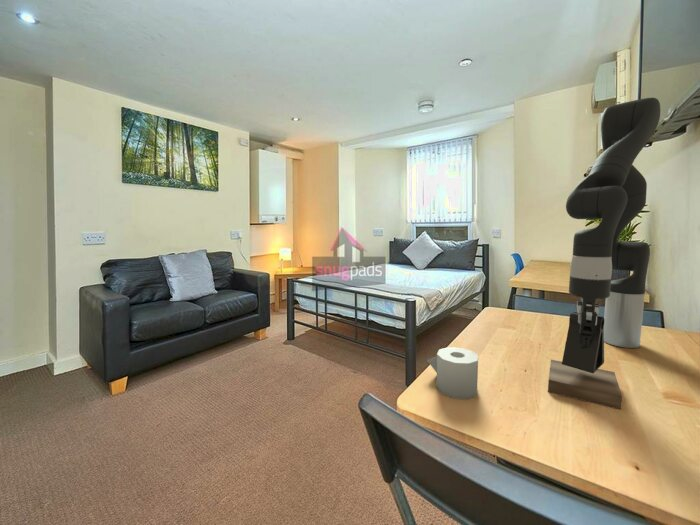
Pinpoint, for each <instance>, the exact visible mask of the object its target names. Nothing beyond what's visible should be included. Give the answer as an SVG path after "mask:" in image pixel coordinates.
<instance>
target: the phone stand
mask: <svg viewBox="0 0 700 525" xmlns="http://www.w3.org/2000/svg"><path fill="white" fill-rule="evenodd" d="M581 318H582V317H581ZM583 329H590V330H591V327H588V326H584V328H583ZM579 330H580V324H579V323H578V312H575V311H572V312H570V315H569V321H568V329H567V335H566V340H565V343H564V345H565V346H564V349H563V350H564V351H563V356H562V360H561V362H562V364H563V365H566V366H569V367H573V368H576V369H580V370H583V371H586V372H590V373H594V372H595V371H596V370H597V369H600V368H601V366H602V365H604V363H605V342H604V316H598V315H597V325H596V326H595V334H594V336H592V339H590V348H582V343H580V332H579ZM585 346H587V345H585Z"/></svg>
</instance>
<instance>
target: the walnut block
mask: <svg viewBox="0 0 700 525" xmlns="http://www.w3.org/2000/svg"><path fill="white" fill-rule="evenodd" d="M547 381H548V384H547V392H549V393H552V394H557V395H560V396H565V397H568V398H572V399H575V400H580V401H584V402H588V403H591V404H592V403H593V404H597V405H600V406H604V407H607V408H612V409H617V410H620V411H621V410H622V403H623V395H622V391H621V388H620V385H619V382H618V379H617V375H616V372H615V371H611V370H606V369H601V368H598V369H597V370H596V371H595V372H594V373H590V372H586V371H583V370H580V369H576V368H573V367H569V366H566V365H563V364H562V360H561V361H560V360H555V359H550V364H549V374H548V380H547Z"/></svg>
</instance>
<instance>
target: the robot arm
mask: <svg viewBox="0 0 700 525" xmlns="http://www.w3.org/2000/svg"><path fill="white" fill-rule="evenodd" d="M660 118H661V103H660V101H659V99H658V98H656V97H646V98H640V99H635V100H630V101H626V102H621V103H618V104H616V103H615V104H613V105H610V106H608V107H606V108H605V109H604V110H603V112H602V115H601V119H600V121H601V122H600V134H601V136H600V138H601V146H602V153H601V154H600V155H599V156H597V159H596V160H595V161H594V163H593V164H592V167H591V169H590V171H589V174H588V175H587V176H585V178H583V179H582V180H581V181H580V182H579V183H578V184H577V185H576V186H575V187H574V188H573V190H571V192H570V194H569V195H568V197H567V198H566V202H565V210H566V213H567V214H568V216H569V217H570V218H572V219H575V220H598V219H599V220H600V219H601V221H600V222H599V224H598V225H596V226H595V227H593V228H588V229H587V228H586V229H581V230H577V232H575V233H574V236H573V243H572V255H571V256H572V257H571V262H570V265H569V266H570V267H569V268H570V270H569V282H568V283H569V284H568V293H569V294H570V295H571V296H574V297H577V298H579V297H580V300H579V301H576V309H577V310H576V311H577V313H578V323H579V324H580V330H579V332H580V343H582V348H590V339H592V336H594V334H595V326H596V325H597V316H598V315H599V313H600V305H599V303H597V302H596V300H597V299H601V300H603V299H604V300H605V305H604V313H603V314H604V315H603V317H604V343H606V344H609V345H612V346H616V347H618V348H619V347H621V348H627V349H637V348H640V345H641V338H642V337H641V336H642V326H643V319H644V318H643V317H644V306H645V295H646V280H647V274H648V269H649V262H650V256H651V247H650V245H649V244H648V243H647V242H645V241H619V240H618V239H619V237H620V235H621V234H622V233H623V231H624V229H625V228H626V227H627V226H628V225H629V224H630V223H632V221H633V220H634V219H635V218H636V217H637V216H638V215H639V214H641V212H642V211H643V209H644V208H645V206H646V203H647V190H648V189H647V188H648V183H647V180H646V178H645V177H644V175H643V174H642V173H641V172H640V170H638V169H637V168H636V167H635V166H634V165H633V163H634V161H635V160H636V159H637V157H638V155H639V154H640V152H641V151H642V150H643V149H644V147H645V146H646V145H647V143H648V142H649V140H650V139H651V137H652V136H654V135H653V134H654V133H655V131H656V129H657V127H658V125H659V122H660V120H661V119H660ZM613 270H614V271H624V272H625V271H627V272H632V274H631V275H628V276H626V277H623V278H619V279H612V274H613ZM581 317H582V318H581ZM584 326H588V327H591V330H590V329H583V328H584ZM585 345H587V346H585Z"/></svg>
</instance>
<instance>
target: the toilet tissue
mask: <svg viewBox="0 0 700 525" xmlns="http://www.w3.org/2000/svg"><path fill="white" fill-rule="evenodd" d="M426 360H427V363H429V364H430V367H432V369H433V371H435V373H436V389H437V388H438V389H437V390H438V391H439V392H440V393H441V394H442V395H444V396H447V397H449V398H452V399H454V400H455V399H457V400H469V399H472V398H475V397H477V395H478V394H477V393H478V374H479V355H478V354H477V353H476V352H474V351H472V350H470V349H466V348H462V347H454V346H453V347H450V346H448V347H444V348H440V349H438V351H437V353H436V356H433V357H431V358H427V359H426Z"/></svg>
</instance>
